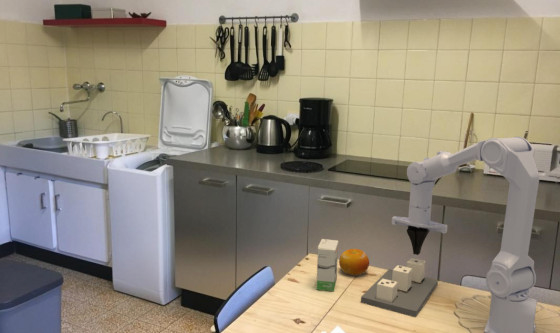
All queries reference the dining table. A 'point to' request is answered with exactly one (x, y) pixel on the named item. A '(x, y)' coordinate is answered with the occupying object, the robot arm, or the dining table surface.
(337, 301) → the dining table surface
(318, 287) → the ink box
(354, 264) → the fruit
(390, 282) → the key three
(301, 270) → the dining table surface
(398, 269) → the key two
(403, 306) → the keypad board
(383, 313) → the dining table surface
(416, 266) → the key one
